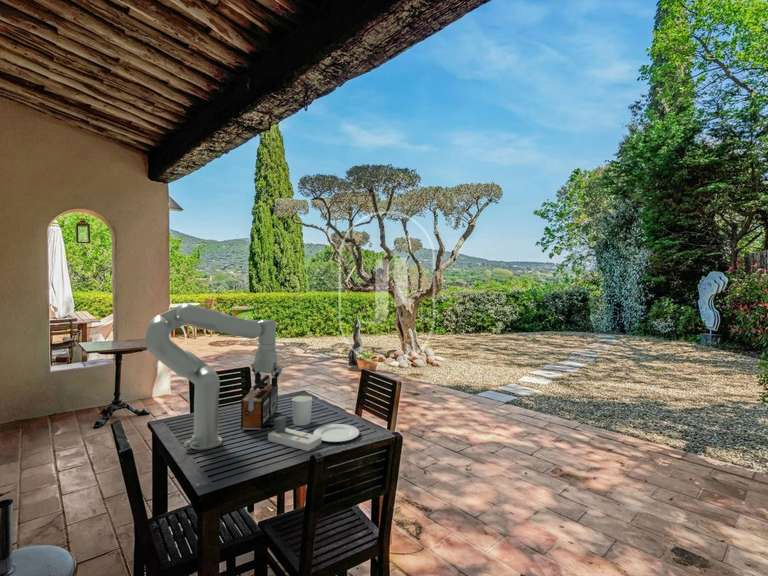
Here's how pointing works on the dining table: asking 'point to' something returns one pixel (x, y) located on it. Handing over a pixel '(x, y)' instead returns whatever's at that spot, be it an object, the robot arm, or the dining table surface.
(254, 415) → the radio cassette player
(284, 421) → the fader knob
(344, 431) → the plate
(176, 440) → the dining table surface
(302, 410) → the candle holder
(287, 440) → the fader console
